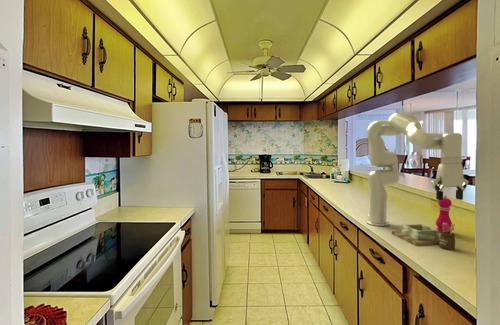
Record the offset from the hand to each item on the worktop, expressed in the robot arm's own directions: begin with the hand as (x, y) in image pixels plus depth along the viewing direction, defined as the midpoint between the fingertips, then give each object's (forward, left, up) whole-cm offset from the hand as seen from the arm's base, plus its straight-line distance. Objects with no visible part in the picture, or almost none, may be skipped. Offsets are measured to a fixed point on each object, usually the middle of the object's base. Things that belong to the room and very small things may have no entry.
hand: (449, 199), depth 133 cm
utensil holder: (0, 0, -22) cm, 22 cm away
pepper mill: (-22, +17, -22) cm, 36 cm away
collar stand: (-14, -3, -22) cm, 26 cm away
